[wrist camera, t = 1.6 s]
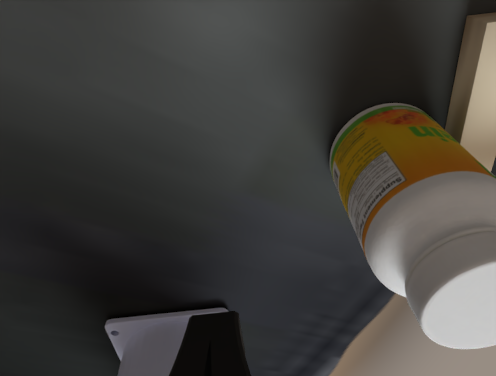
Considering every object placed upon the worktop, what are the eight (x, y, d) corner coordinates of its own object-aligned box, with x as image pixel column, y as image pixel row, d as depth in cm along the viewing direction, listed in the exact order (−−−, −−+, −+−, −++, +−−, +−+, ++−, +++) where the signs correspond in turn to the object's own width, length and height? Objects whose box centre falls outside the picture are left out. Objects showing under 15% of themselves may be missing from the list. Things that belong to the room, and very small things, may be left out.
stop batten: (451, 246, 23) (464, 264, 22) (421, 249, 23) (432, 267, 22) (511, 10, 16) (535, 17, 15) (467, 15, 16) (487, 22, 15)
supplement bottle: (459, 129, 19) (632, 278, 11) (388, 209, 22) (486, 378, 13) (371, 79, 17) (497, 209, 9) (306, 172, 20) (361, 337, 12)
